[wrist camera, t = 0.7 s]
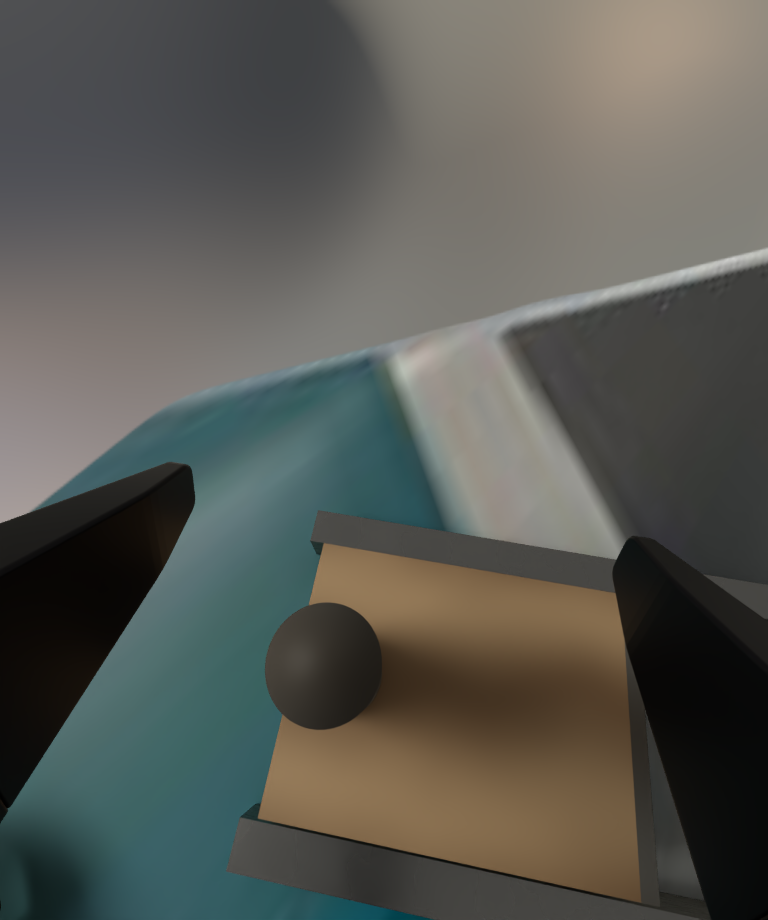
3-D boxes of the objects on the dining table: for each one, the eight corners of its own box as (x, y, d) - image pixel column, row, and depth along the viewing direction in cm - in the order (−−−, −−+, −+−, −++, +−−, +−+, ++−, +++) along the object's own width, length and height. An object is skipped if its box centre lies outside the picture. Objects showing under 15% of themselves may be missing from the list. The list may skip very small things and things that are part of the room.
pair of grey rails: (1041, 1031, 16) (1223, 1125, 13) (244, 851, 19) (211, 888, 15) (905, 623, 23) (1002, 611, 19) (323, 525, 25) (313, 498, 22)
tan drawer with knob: (606, 865, 18) (862, 1062, 9) (280, 795, 19) (176, 899, 10) (596, 611, 23) (757, 550, 13) (332, 565, 24) (297, 476, 14)
